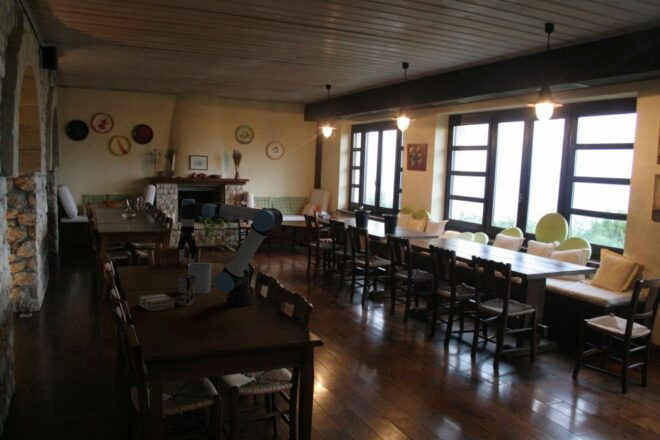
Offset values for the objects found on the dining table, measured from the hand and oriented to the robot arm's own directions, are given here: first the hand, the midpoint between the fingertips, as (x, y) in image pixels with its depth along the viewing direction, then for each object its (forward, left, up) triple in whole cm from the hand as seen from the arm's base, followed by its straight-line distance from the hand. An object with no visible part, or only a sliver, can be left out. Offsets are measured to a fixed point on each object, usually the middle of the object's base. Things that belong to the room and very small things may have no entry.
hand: (186, 262), depth 313 cm
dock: (+2, +17, -24) cm, 30 cm away
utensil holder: (+24, -20, -25) cm, 40 cm away
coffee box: (0, 0, -25) cm, 25 cm away
